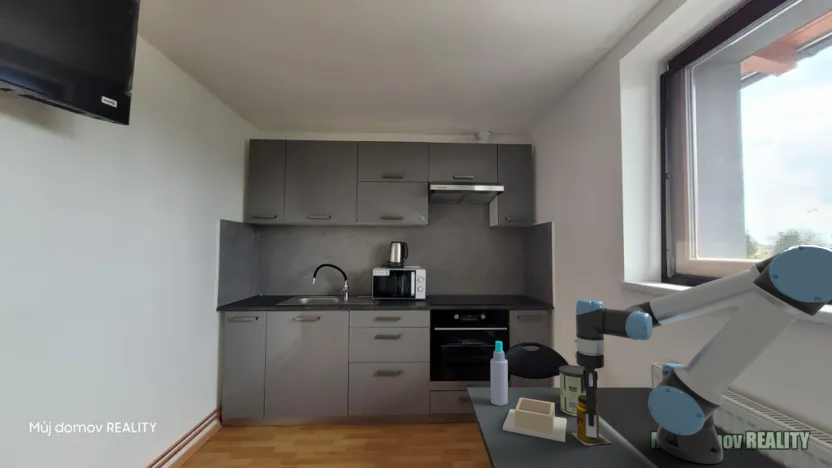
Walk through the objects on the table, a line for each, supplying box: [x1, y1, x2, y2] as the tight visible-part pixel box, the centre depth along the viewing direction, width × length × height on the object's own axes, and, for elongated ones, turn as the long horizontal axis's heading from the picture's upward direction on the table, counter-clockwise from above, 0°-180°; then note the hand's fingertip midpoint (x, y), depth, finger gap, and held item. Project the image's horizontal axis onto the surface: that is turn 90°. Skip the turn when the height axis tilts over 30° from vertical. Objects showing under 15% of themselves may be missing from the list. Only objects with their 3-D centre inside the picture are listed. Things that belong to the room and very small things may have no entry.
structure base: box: [502, 397, 567, 443], centre depth 119 cm, size 18×14×6 cm
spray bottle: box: [490, 340, 509, 407], centre depth 137 cm, size 6×6×22 cm
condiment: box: [570, 395, 613, 446], centre depth 112 cm, size 7×8×12 cm
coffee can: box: [558, 364, 586, 417], centre depth 131 cm, size 10×10×14 cm
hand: (590, 430), depth 111 cm, fingers closed on condiment, 6 cm apart
